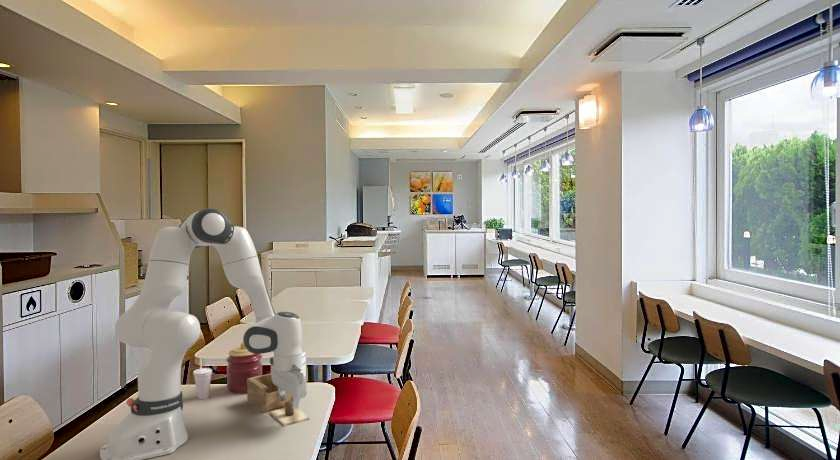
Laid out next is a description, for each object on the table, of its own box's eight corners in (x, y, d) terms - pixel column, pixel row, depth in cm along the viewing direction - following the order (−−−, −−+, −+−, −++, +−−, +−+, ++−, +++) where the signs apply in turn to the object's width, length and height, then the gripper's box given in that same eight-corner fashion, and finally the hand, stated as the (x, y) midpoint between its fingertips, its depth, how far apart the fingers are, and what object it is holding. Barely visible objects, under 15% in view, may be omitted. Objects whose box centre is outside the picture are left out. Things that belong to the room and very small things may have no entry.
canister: (219, 391, 193) (218, 345, 193) (243, 380, 205) (242, 336, 204) (246, 396, 188) (245, 348, 188) (270, 384, 200) (269, 339, 199)
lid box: (263, 413, 172) (263, 389, 172) (247, 401, 183) (246, 378, 183) (294, 405, 179) (293, 381, 179) (276, 394, 190) (276, 372, 190)
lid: (284, 427, 162) (284, 411, 162) (270, 415, 172) (270, 399, 172) (309, 421, 167) (309, 405, 167) (294, 409, 177) (294, 394, 177)
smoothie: (196, 394, 191) (195, 357, 190) (214, 393, 192) (213, 355, 191) (191, 400, 184) (190, 362, 184) (210, 399, 185) (209, 361, 185)
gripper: (311, 367, 162) (312, 411, 162) (284, 354, 178) (285, 393, 178) (292, 371, 158) (293, 416, 158) (267, 357, 174) (267, 397, 175)
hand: (288, 404), depth 169 cm, fingers open, 8 cm apart
